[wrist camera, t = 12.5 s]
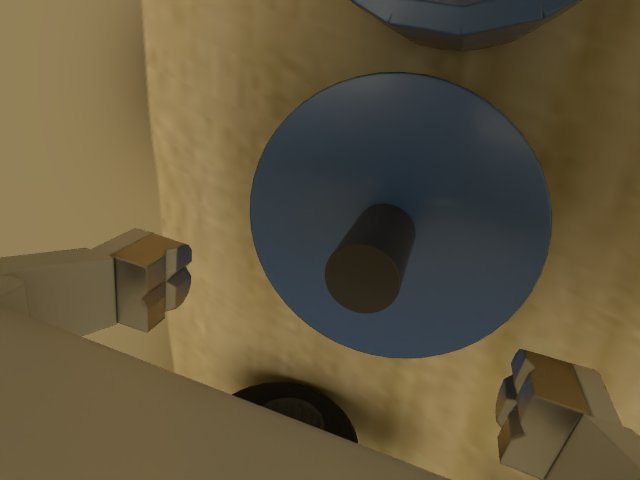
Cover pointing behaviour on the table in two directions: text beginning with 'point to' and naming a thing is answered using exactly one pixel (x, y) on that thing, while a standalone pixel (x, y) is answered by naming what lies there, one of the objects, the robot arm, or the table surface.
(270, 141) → the lid
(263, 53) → the table surface
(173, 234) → the table surface
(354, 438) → the controller
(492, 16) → the pot
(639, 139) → the table surface
